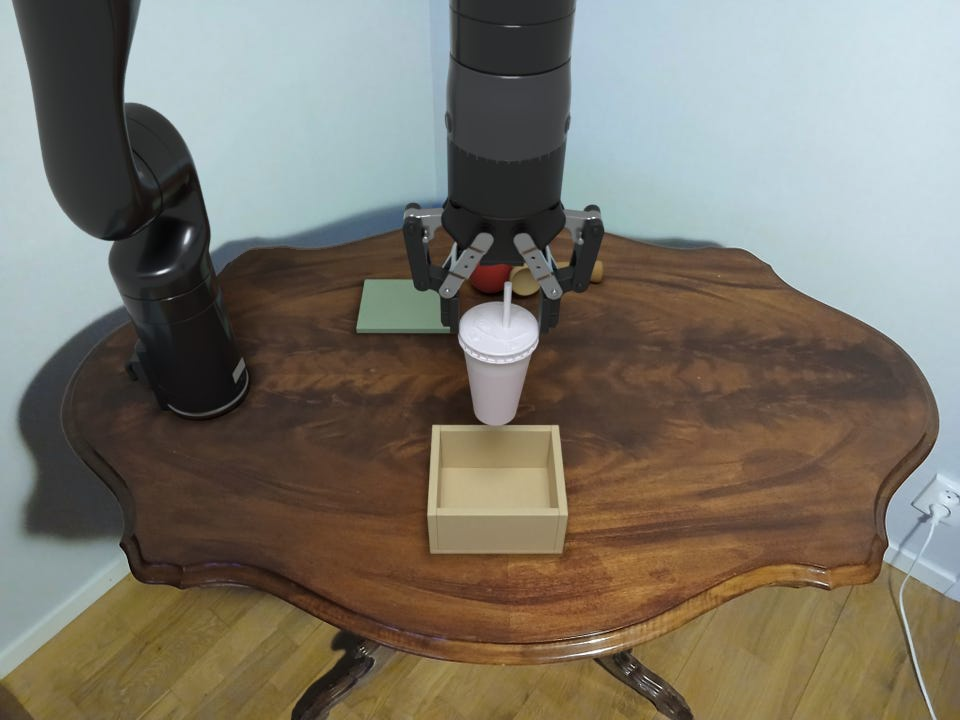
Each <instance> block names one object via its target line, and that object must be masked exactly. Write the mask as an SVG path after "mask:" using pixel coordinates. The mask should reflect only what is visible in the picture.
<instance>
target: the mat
mask: <svg viewBox="0 0 960 720" xmlns="http://www.w3.org/2000/svg"><path fill="white" fill-rule="evenodd" d="M356 334H451V333H450V327H443V325H442V323H441V310H440V296H439V294H438V293H437V292H436V291H434V290H430V289H428V290H427V291H423V292H422V291H418V290H416V289H415V287H414V284H413V279H390V278H389V279H387V278H385V279H381V278H379V279H375V278H374V279H372V278H371V279H370V278H369V279H365V278H364V283H363V288H362V294H361V299H360V305H359V311H358V316H357V321H356Z"/></svg>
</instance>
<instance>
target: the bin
mask: <svg viewBox="0 0 960 720" xmlns="http://www.w3.org/2000/svg"><path fill="white" fill-rule="evenodd" d="M560 434H561V433H560V425H559V424H503V425H498V426H493V425H488V424H432V426H431V441H430V442H431V443H430V461H429V478H428V479H429V480H428V494H427V495H428V496H427V510H426V511H427V513H426V517H427V530H428V543H429V552H430V553H429V554H430V555H431V554H432V555H434V554H435V555H436V554H440V555H441V554H444V555H445V554H449V555H451V554H453V555H455V554H460V555H461V554H462V555H463V554H464V555H465V554H467V555H468V554H469V555H471V554H474V555H475V554H476V555H477V554H478V555H479V554H482V555H483V554H485V555H486V554H488V555H489V554H490V555H491V554H492V555H493V554H494V555H495V554H500V555H501V554H504V555H505V554H509V555H510V554H512V555H513V554H515V555H519V554H523V555H524V554H525V555H527V554H528V555H529V554H530V555H531V554H533V555H534V554H537V555H539V554H541V555H542V554H544V555H545V554H547V555H548V554H550V555H552V554H554V555H555V554H557V555H562V554H563V551H564V545H565V538H566V531H567V525H568V519H569V509H568V500H567V499H568V498H567V489H566V480H565V473H564V462H563V452H562V442H561V435H560Z"/></svg>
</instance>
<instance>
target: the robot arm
mask: <svg viewBox="0 0 960 720" xmlns="http://www.w3.org/2000/svg"><path fill="white" fill-rule="evenodd" d="M577 2H578V1H577V0H448V20H449V21H448V22H449V25H448V26H449V27H448V28H449V29H448V30H449V56H448V57H449V59H448V69H447V76H446V77H447V78H446V86H445V87H446V88H445V109H446V110H445V113H444V123H445V129H446V159H447V160H446V167H447V168H446V169H447V171H446V172H447V173H446V174H447V196H446V199H445V200H444V202H443V203H442V205H441V207H432V208H423V207H422V206H421V205H420V204H419V203H417V202H409V203H407V204H406V205H405V207H404V213H403V221H402V228H401V230H402V235H403V239H404V240H403V241H404V244H405V249H406V254H407V255H406V256H407V259H408V264H409V269H410V273H411V280H413V284H414V287H415V289H416V290H418V291H422V292H423V291H427V290H428V289H430V290H434V291H436V292H437V293H438V294H439V296H440V310H441V323H442V325H443V327H450V333H449V334H457V335H458V334H459V323H460V288H461V286H462V284H463V283H464V282H465V280H466V281H467V280H469V276H470V275H471V273H472V272H473V270H474V269H475V267H476V266H477V264H478V263H480V266H494V265H499V264H505V265H509V266H519V267H524V263H526V264H527V265H528V267H529V269H530V271H531V273H532V274H533V276H534V278H535V280H536V281H539V283H540V285H541V287H540V289H539V299H538V310H537V322H538V328H539V335H549V333H550V332H549V331H550V329H551V328H552V329H553V328H556V327H557V325H558V324H559V319H560V317H559V316H560V309H561V300H562V297H563V296H564V295H565V294H566V293H568V292H572V291H573V292H574V293H577V294H582V293H585V292H586V291H588V288H589V285H590V279H591V276H592V272H593V269H594V266H595V262H596V261H597V258H598V255H599V252H600V249H601V245H602V242H603V238H604V235H605V226H604V221H603V217H602V212H601V207H600V206H598V205H597V204H588V205H586V206H585V207H584V208H583V210H579V209H578V210H577V209H569V208H565V206H564V203H563V202H562V198H561V197H562V189H563V179H564V171H565V161H566V151H567V144H568V143H567V141H568V133H569V130H570V128H571V122H572V116H571V104H572V50H573V41H574V31H575V21H576V11H577ZM11 3H12V8H13V12H14V16H15V19H16V25H17V28H18V32H19V37H20V41H21V45H22V49H23V54H24V57H25V61H26V66H27V70H28V74H29V80H30V87H31V92H32V93H31V94H32V98H33V106H34V112H35V118H36V119H35V120H36V126H37V132H38V140H39V146H40V152H41V158H42V164H43V165H42V166H43V170H44V174H45V178H46V180H47V183H48V186H49V189H50V191H51V193H52V195H53V197H54V199H55V201H56V202H57V204H58V206H59V208H60V209H61V210H62V212H63V213H64V214H65V215H66V217H67V218H68V219H69V220H70V221H71V222H72V224H73V225H75V226H76V227H77V228H78V229H79V230H81V231H82V232H84V233H86V234H87V235H88V236H90V237H92V238H94V239H96V240H97V239H98V240H100V241H104V242H105V241H106V242H113V243H112V245H111V246H110V250H109V252H108V258H107V265H108V269H109V272H110V276H111V277H112V280H113V282H114V284H115V287H116V289H117V291H118V294H119V296H120V298H121V300H122V302H123V305H124V308H125V309H126V312H127V314H128V316H129V318H130V321H131V323H132V325H133V327H134V330H135V332H136V334H137V337H138V339H137V341H136V343H135V345H134V352H133V354H132V356H131V357H130V358H128V359H127V360H126V361H125V363H124V370H125V372H126V373H127V375H128V376H129V378H130V379H131V380H137V379H138V381H139V382H148V383H149V385H150V388H151V391H152V392H153V394H154V396H155V398H156V401H157V403H158V405H159V407H160V410H163V411H165V410H166V411H167V410H168V411H170V412H172V414H174V415H175V416H177V417H179V418H182V419H184V420H190V421H204V420H211V419H215V418H217V417H220V416H223V415H225V414H227V413H229V412H231V411H232V410H234V409H235V408H236V407H238V406H239V405H240V404H241V403H242V402H243V401H244V399H245V398H246V396H247V394H248V392H249V390H250V386H251V382H250V376H249V373H248V370H247V368H246V364H245V360H244V358H243V355H242V353H241V350H240V346H239V343H238V340H237V337H236V334H235V331H234V328H233V324H232V321H231V318H230V315H229V312H228V308H227V306H226V302H225V299H224V296H223V292H222V289H221V287H220V282H219V280H218V277H217V273H216V270H215V268H214V264H213V260H212V256H211V253H210V245H211V241H212V240H211V239H212V230H211V224H210V218H209V215H208V211H207V210H208V209H207V206H206V203H205V198H204V194H203V189H202V185H201V181H200V177H199V174H198V170H197V165H196V163H195V160H194V158H193V155H192V153H191V151H190V148H189V146H188V144H187V142H186V141H185V139H184V137H183V136H182V134H181V133H180V131H179V130H178V128H176V127H175V125H174V124H173V123H172V122H171V121H170V120H169V119H168V118H167V117H166V116H165V115H164V114H163V113H161V112H160V111H158V110H157V109H154V108H153V107H150V106H149V105H146V104H143V103H141V102H140V103H139V102H133V101H132V102H131V101H130V102H129V101H128V102H126V101H125V96H126V95H125V88H126V87H125V86H126V75H127V69H128V65H129V59H130V54H131V50H132V46H133V41H134V37H135V34H136V33H135V32H136V28H137V24H138V19H139V14H140V10H141V5H142V0H11ZM441 227H442V228H443V230H444V231H445V232H446V233H447V234H448V235H449V237H451V239H452V240H453V241H454V243H453V244H452V247H451V251H450V253H449V255H448V256H447V258H446V260H445V262H444V263H443V264H442V266H439V265H436V264H433V262H432V261H433V260H432V257H431V251H430V245H429V242H431V241H432V240H433V239H434V238H435V235H436V230H437V229H438V228H441ZM564 228H565V229H567V230H568V231H569V233H570V239H571V242H573V243H574V244H573V248H572V252H571V255H570V260H569V262H570V263H569V266H567V267H563V268H558V266H557V264H556V263H555V262H556V261H555V258H554V256H553V255H552V253H551V249H550V247H549V245H550V244H551V242H553V240H554V239H556V237H558V235H559V234H561V232H562V231H563V230H564Z"/></svg>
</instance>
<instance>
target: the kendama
mask: <svg viewBox="0 0 960 720" xmlns="http://www.w3.org/2000/svg"><path fill="white" fill-rule="evenodd" d="M555 263H556V264H557V266H558V268H563V267H567V266H569V263H570V261H555ZM603 276H604V264H603V262H602V261H601V260H596V262H595V266H594V269H593V272H592V276H591V279H590V282H591V283H600V282H601V281H602V279H603ZM468 280H469V282H470V283H471V284H472V286H474V288H476V290H478V291H480V292H482V293H487V294H494V293H498V292H501V291H504V285H505V282H511V283H512V293H515V294H516V295H518V296H522V297H523V296H531V295H534V294H535V293H537V292H538V291H540V287H541V285H540V283H539V281H536V280H535V278H534V276H533V274H532V273H531V271H530V269H529V267H528V265H527V264H526V263H524V267H519V266H509V265H505V264H499V265H494V266H480V263H478V264H477V266H476V267H475V269H474V270H473V272H472V273H471V275H470V276H469V278H468ZM590 282H589V283H590Z"/></svg>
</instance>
